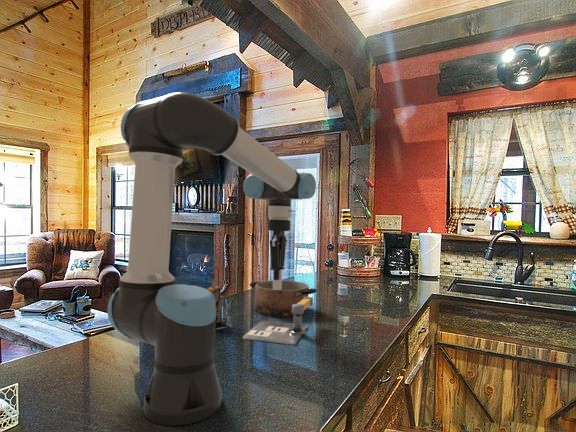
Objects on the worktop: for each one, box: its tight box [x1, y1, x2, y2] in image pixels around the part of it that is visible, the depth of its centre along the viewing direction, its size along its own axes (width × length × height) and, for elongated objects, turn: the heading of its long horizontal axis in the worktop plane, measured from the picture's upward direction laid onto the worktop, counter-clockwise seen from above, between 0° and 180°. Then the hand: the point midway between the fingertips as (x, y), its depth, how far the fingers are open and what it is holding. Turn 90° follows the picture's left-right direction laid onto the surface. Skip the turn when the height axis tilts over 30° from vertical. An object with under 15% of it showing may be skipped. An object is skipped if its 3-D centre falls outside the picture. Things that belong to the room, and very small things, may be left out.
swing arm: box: [292, 296, 314, 315], centre depth 125 cm, size 16×4×3 cm, turn 161°
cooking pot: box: [249, 279, 317, 318], centre depth 152 cm, size 30×22×11 cm
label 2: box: [265, 326, 289, 334], centre depth 121 cm, size 5×7×1 cm
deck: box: [242, 314, 308, 346], centre depth 121 cm, size 19×18×7 cm
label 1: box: [247, 330, 273, 338], centre depth 116 cm, size 5×7×1 cm
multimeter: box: [205, 267, 233, 331], centre depth 128 cm, size 15×10×20 cm
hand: (277, 289), depth 121 cm, fingers closed
